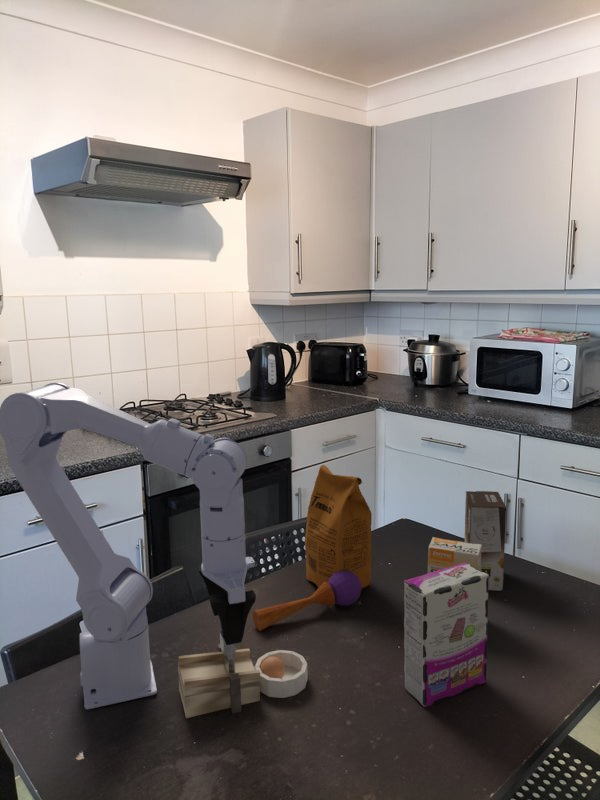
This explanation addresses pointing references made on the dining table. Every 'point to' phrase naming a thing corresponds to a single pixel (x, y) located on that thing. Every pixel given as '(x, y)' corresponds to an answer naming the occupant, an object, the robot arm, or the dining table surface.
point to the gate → (228, 654)
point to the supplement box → (452, 554)
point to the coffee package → (337, 529)
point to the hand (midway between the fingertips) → (227, 627)
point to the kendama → (314, 599)
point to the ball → (273, 667)
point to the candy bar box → (445, 633)
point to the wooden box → (217, 682)
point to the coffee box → (487, 532)
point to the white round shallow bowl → (292, 677)
